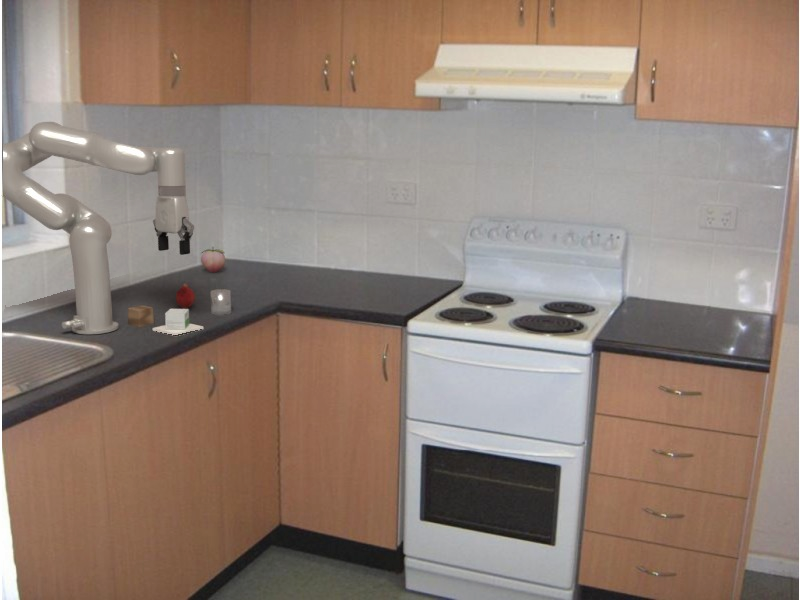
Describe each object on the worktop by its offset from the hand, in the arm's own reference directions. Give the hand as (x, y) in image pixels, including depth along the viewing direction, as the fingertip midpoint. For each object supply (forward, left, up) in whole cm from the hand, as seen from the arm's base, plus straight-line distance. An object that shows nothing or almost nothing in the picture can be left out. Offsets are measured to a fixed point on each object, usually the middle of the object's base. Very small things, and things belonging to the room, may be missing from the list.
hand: (174, 252), depth 250 cm
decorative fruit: (+65, +56, -22) cm, 89 cm away
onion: (+17, +16, -22) cm, 32 cm away
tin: (+20, +3, -22) cm, 30 cm away
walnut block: (-4, +11, -22) cm, 25 cm away
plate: (-2, -3, -22) cm, 22 cm away
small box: (-2, -3, -21) cm, 22 cm away
